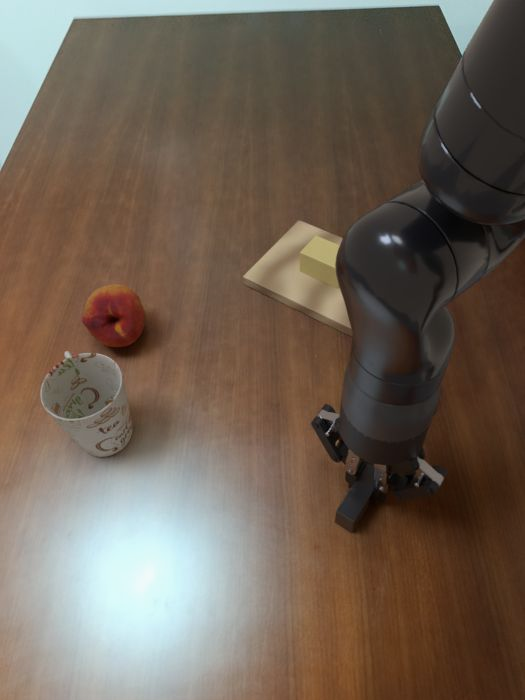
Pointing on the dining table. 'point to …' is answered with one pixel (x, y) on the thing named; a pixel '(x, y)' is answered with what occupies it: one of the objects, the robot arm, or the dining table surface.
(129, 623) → the dining table surface
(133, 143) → the dining table surface
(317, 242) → the butter
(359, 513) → the screwdriver
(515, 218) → the robot arm
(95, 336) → the fruit
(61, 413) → the mug
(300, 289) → the board
